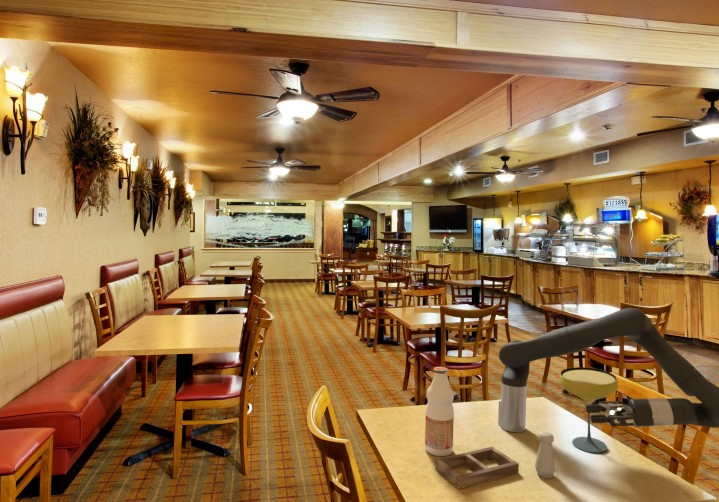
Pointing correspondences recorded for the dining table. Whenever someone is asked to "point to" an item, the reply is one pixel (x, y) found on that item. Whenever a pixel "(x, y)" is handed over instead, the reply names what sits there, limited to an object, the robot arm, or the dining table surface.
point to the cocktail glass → (589, 397)
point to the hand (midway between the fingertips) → (588, 413)
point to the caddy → (477, 467)
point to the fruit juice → (439, 415)
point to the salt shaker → (545, 456)
